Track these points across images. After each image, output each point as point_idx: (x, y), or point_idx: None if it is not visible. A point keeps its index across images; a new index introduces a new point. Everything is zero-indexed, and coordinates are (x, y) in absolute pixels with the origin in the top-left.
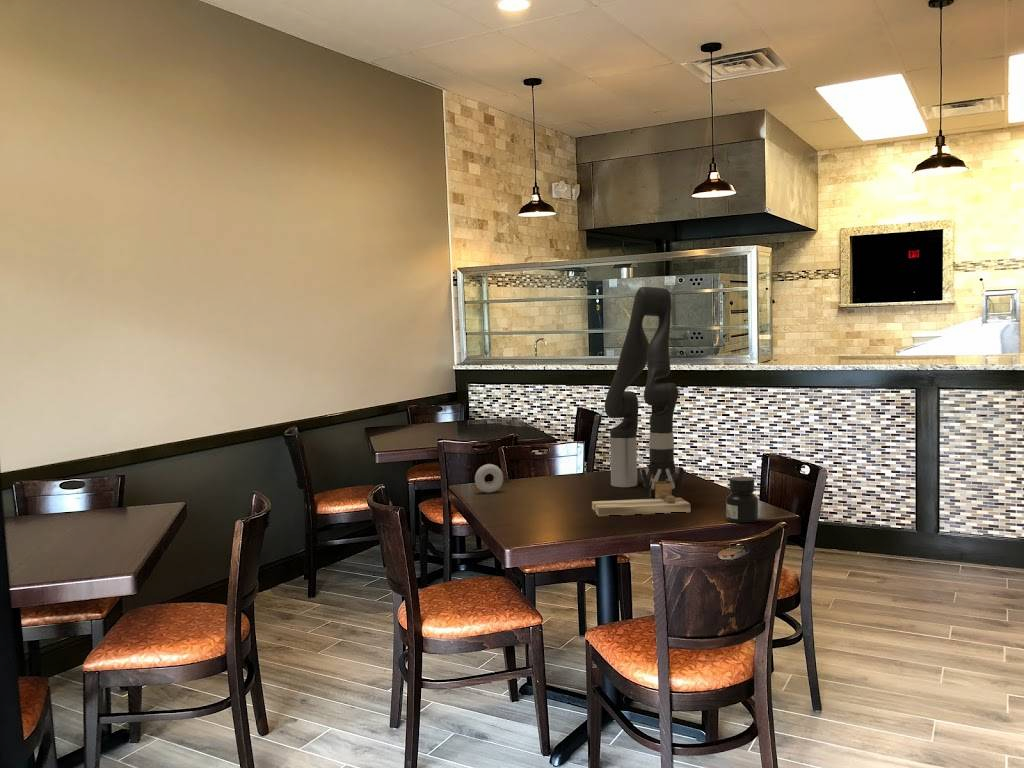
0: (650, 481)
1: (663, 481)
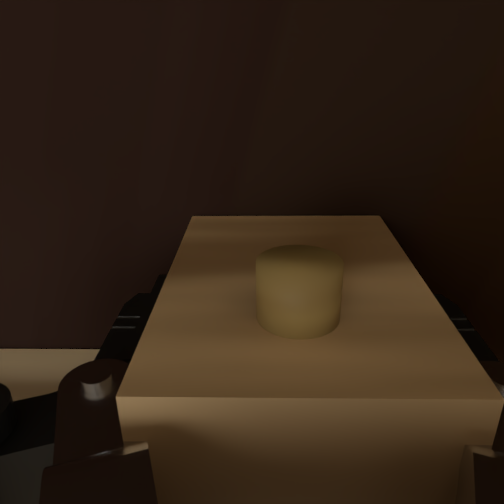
0: (54, 459)
1: (388, 404)
